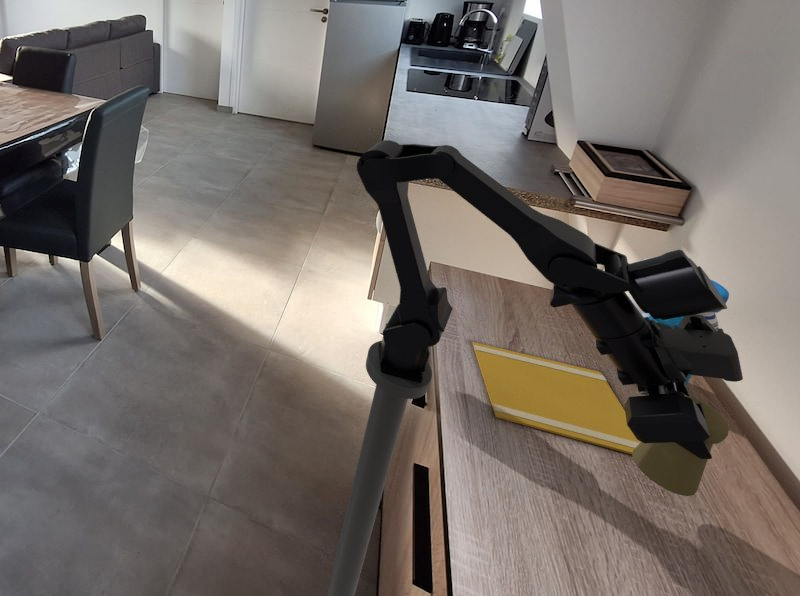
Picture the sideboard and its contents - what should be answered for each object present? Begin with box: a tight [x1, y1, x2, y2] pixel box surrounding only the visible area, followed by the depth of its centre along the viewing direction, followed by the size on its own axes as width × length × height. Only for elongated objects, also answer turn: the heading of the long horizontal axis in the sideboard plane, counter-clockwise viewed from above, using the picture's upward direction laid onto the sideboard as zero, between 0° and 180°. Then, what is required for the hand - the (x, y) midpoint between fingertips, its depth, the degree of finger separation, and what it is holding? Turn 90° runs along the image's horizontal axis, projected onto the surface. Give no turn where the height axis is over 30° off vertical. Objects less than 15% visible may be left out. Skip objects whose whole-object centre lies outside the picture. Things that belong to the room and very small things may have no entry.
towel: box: [471, 341, 641, 455], centre depth 74 cm, size 20×16×1 cm
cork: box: [631, 395, 730, 497], centre depth 55 cm, size 6×6×11 cm
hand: (701, 441), depth 54 cm, fingers closed on cork, 5 cm apart
